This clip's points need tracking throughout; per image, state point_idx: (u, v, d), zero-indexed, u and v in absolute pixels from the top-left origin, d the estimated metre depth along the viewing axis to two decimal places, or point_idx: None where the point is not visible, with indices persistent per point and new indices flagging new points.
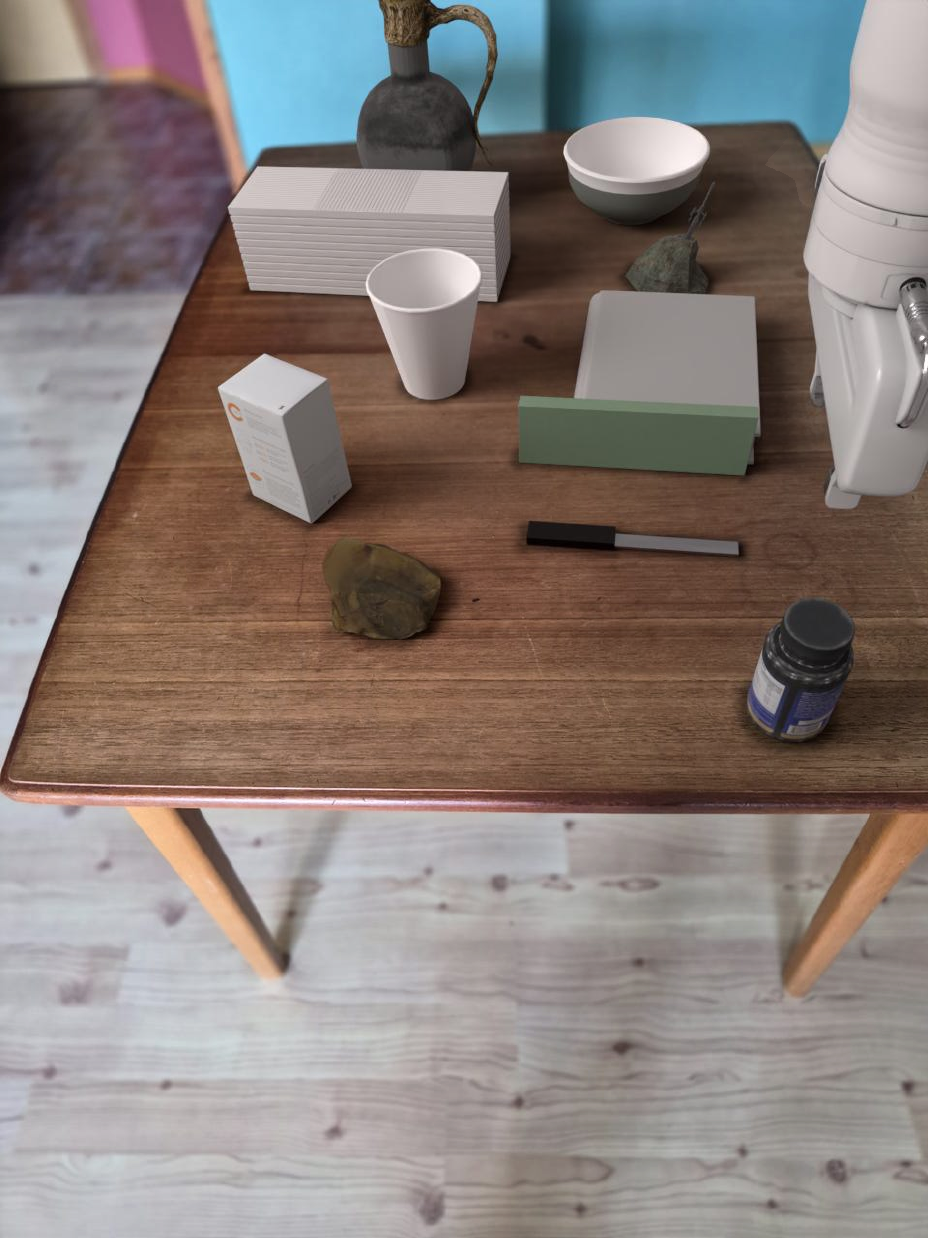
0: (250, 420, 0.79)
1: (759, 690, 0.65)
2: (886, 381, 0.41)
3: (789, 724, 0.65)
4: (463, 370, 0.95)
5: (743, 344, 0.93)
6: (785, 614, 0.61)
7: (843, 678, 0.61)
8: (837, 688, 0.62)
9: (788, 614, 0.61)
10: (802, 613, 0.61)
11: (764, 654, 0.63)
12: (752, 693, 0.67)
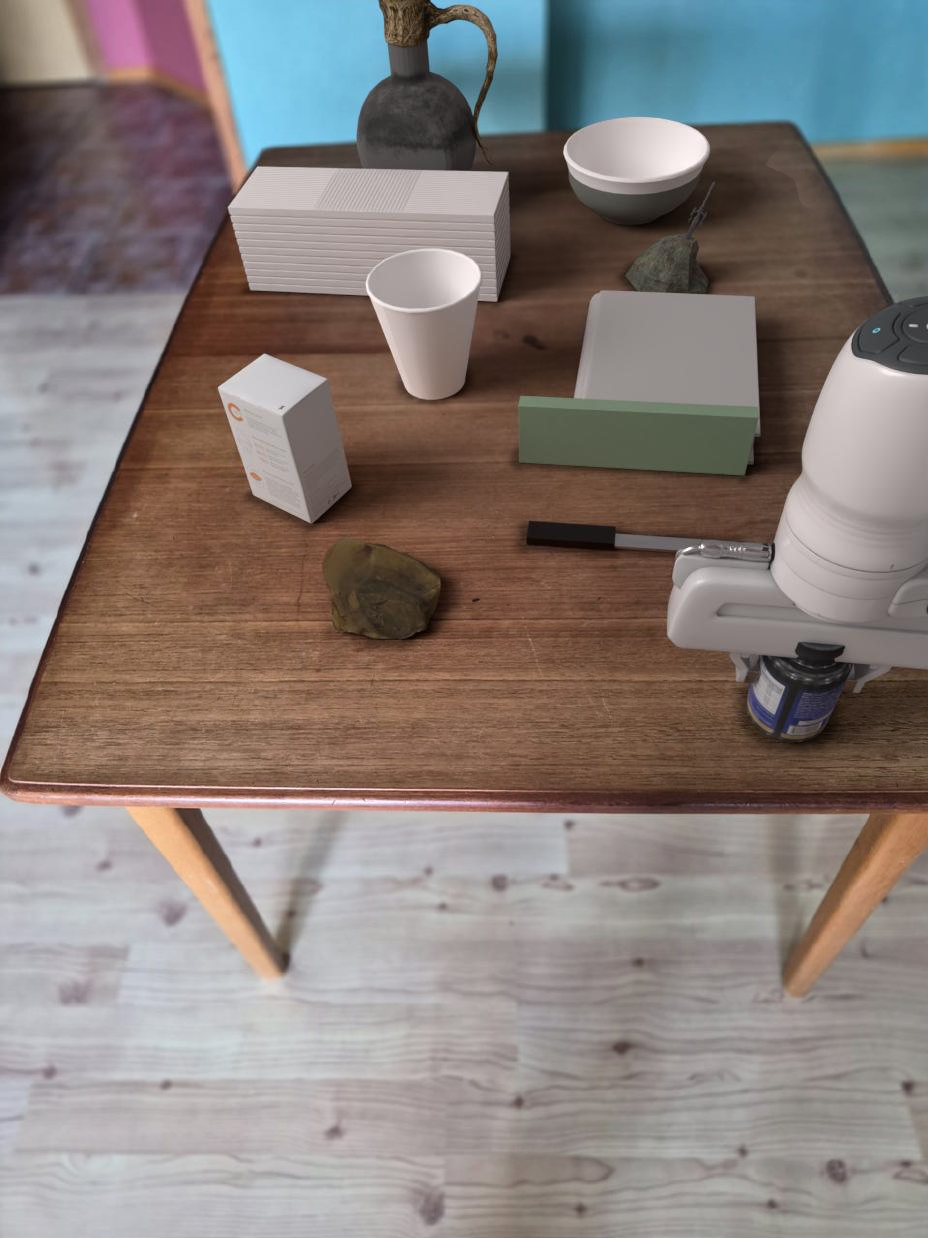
0: (250, 420, 0.79)
1: (759, 691, 0.65)
2: None
3: (789, 724, 0.65)
4: (463, 370, 0.95)
5: (743, 345, 0.93)
6: None
7: (843, 678, 0.61)
8: (837, 688, 0.62)
9: None
10: None
11: None
12: (752, 693, 0.67)
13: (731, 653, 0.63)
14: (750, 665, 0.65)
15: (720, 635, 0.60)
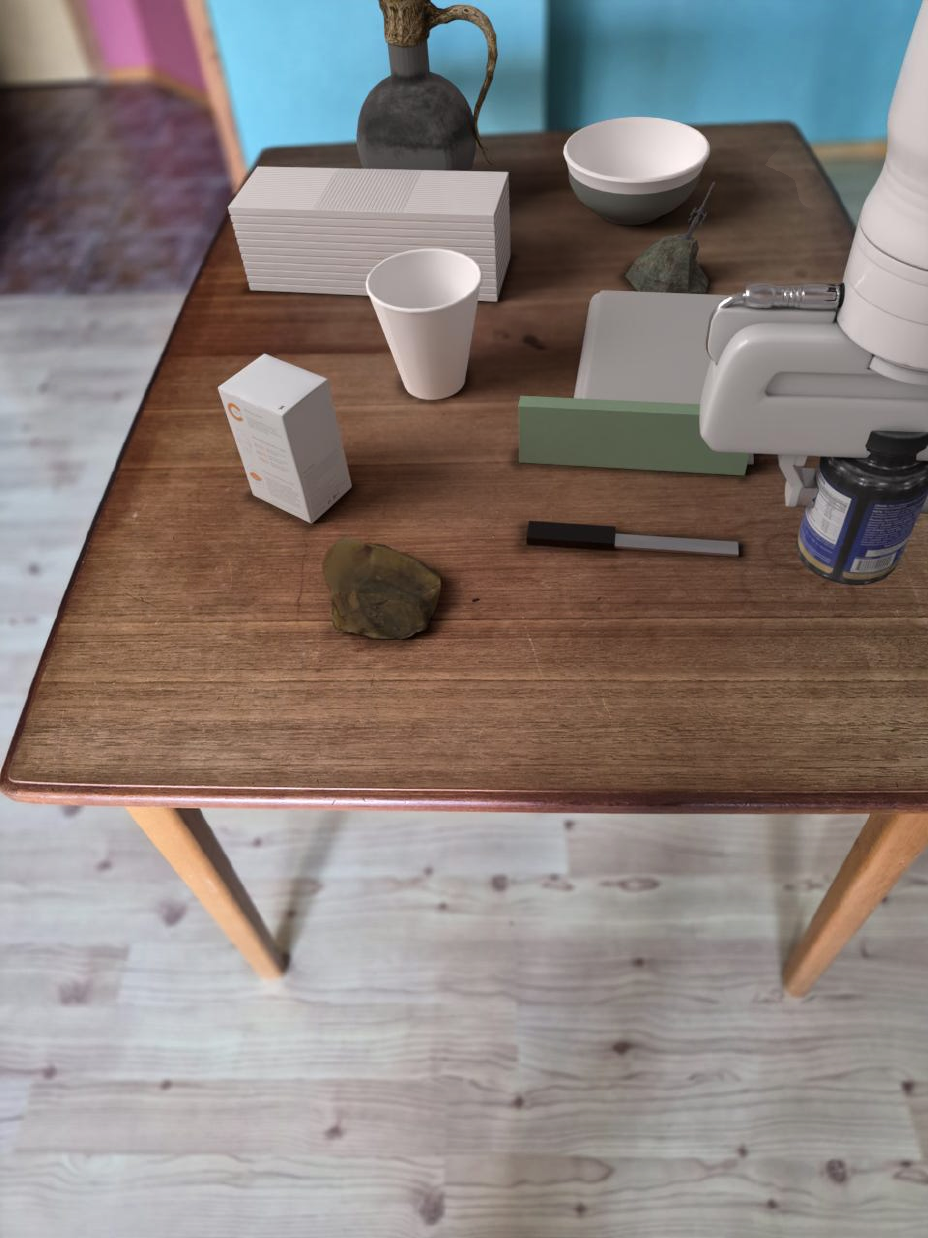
0: (250, 420, 0.79)
1: (815, 516, 0.52)
2: None
3: (854, 557, 0.52)
4: (463, 370, 0.95)
5: None
6: None
7: (927, 484, 0.48)
8: (918, 499, 0.49)
9: None
10: None
11: (823, 462, 0.50)
12: (805, 524, 0.54)
13: (782, 460, 0.49)
14: (804, 481, 0.51)
15: (769, 426, 0.47)
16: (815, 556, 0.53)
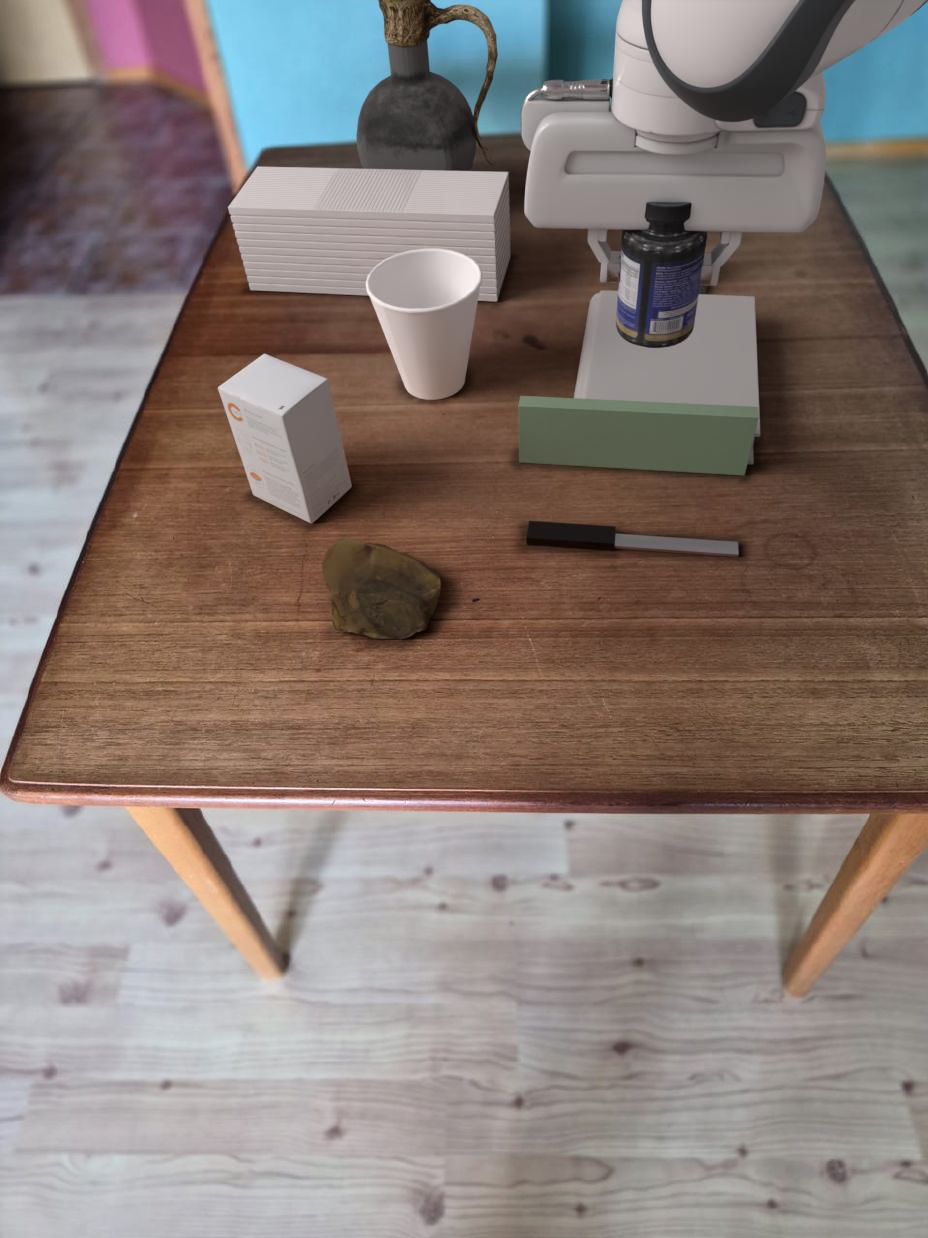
0: (250, 420, 0.79)
1: (621, 288, 0.67)
2: None
3: (649, 318, 0.66)
4: (463, 370, 0.95)
5: (743, 345, 0.93)
6: None
7: (694, 249, 0.63)
8: (690, 264, 0.63)
9: None
10: None
11: (622, 239, 0.65)
12: (617, 299, 0.68)
13: (588, 236, 0.64)
14: (611, 259, 0.66)
15: (572, 201, 0.62)
16: (625, 324, 0.68)
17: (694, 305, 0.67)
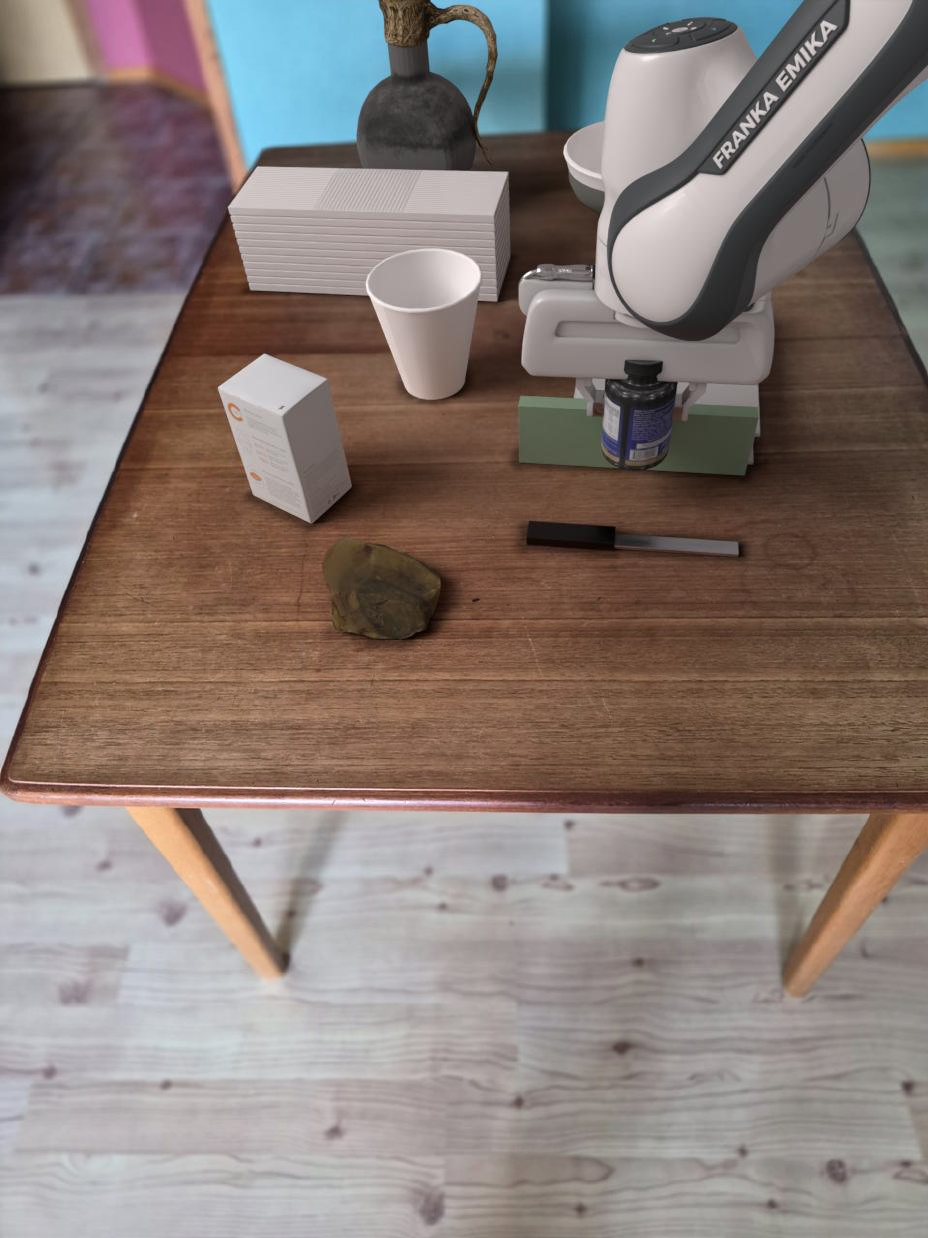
0: (250, 420, 0.79)
1: (605, 421, 0.78)
2: None
3: (629, 448, 0.77)
4: (463, 370, 0.95)
5: None
6: None
7: (666, 396, 0.74)
8: (663, 407, 0.74)
9: None
10: None
11: (605, 384, 0.76)
12: (602, 429, 0.79)
13: (576, 382, 0.75)
14: (596, 398, 0.77)
15: (562, 357, 0.73)
16: (608, 450, 0.79)
17: (668, 436, 0.78)
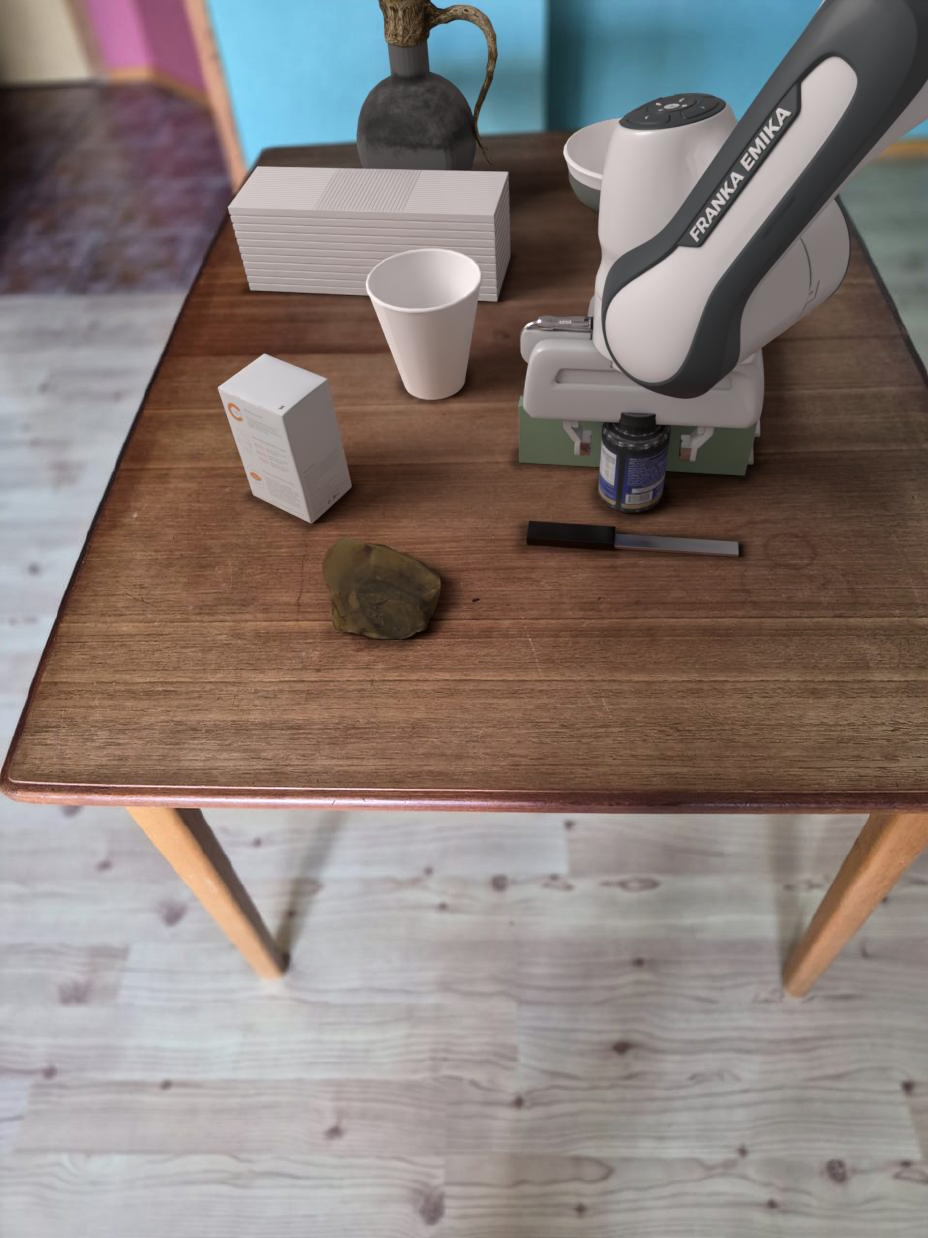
0: (250, 420, 0.79)
1: (602, 467, 0.82)
2: None
3: (625, 493, 0.81)
4: (463, 370, 0.95)
5: None
6: None
7: (660, 445, 0.78)
8: (657, 455, 0.78)
9: None
10: None
11: (602, 432, 0.80)
12: (599, 473, 0.83)
13: (564, 423, 0.79)
14: (583, 438, 0.81)
15: (562, 402, 0.76)
16: (605, 494, 0.83)
17: (661, 481, 0.82)
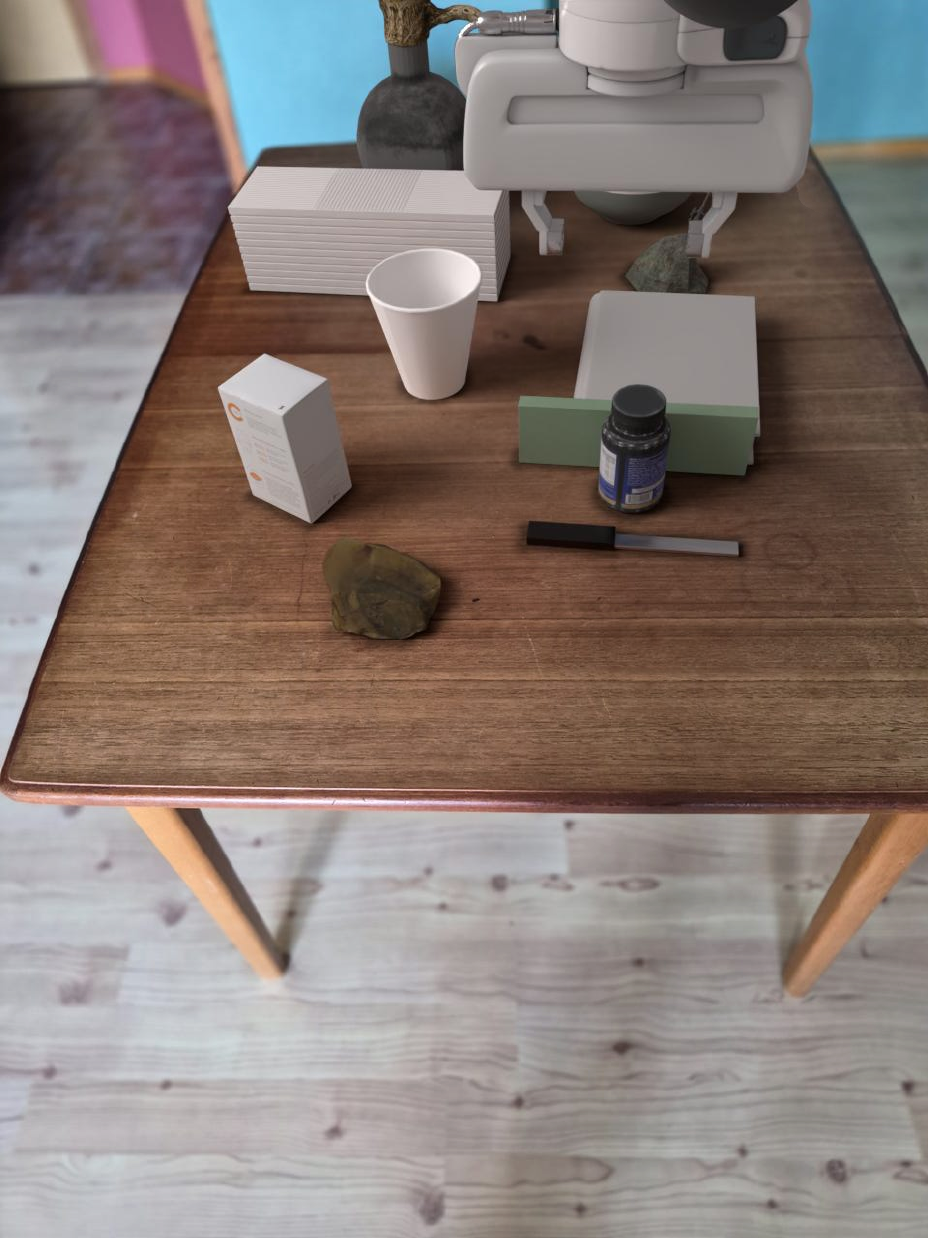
0: (250, 420, 0.79)
1: (602, 467, 0.82)
2: None
3: (625, 493, 0.81)
4: (463, 370, 0.95)
5: (743, 345, 0.93)
6: (614, 395, 0.77)
7: (660, 446, 0.78)
8: (657, 455, 0.78)
9: (616, 395, 0.77)
10: (627, 394, 0.77)
11: (602, 432, 0.80)
12: (599, 473, 0.83)
13: (523, 199, 0.56)
14: (551, 227, 0.57)
15: (518, 157, 0.53)
16: (605, 494, 0.83)
17: (661, 481, 0.82)
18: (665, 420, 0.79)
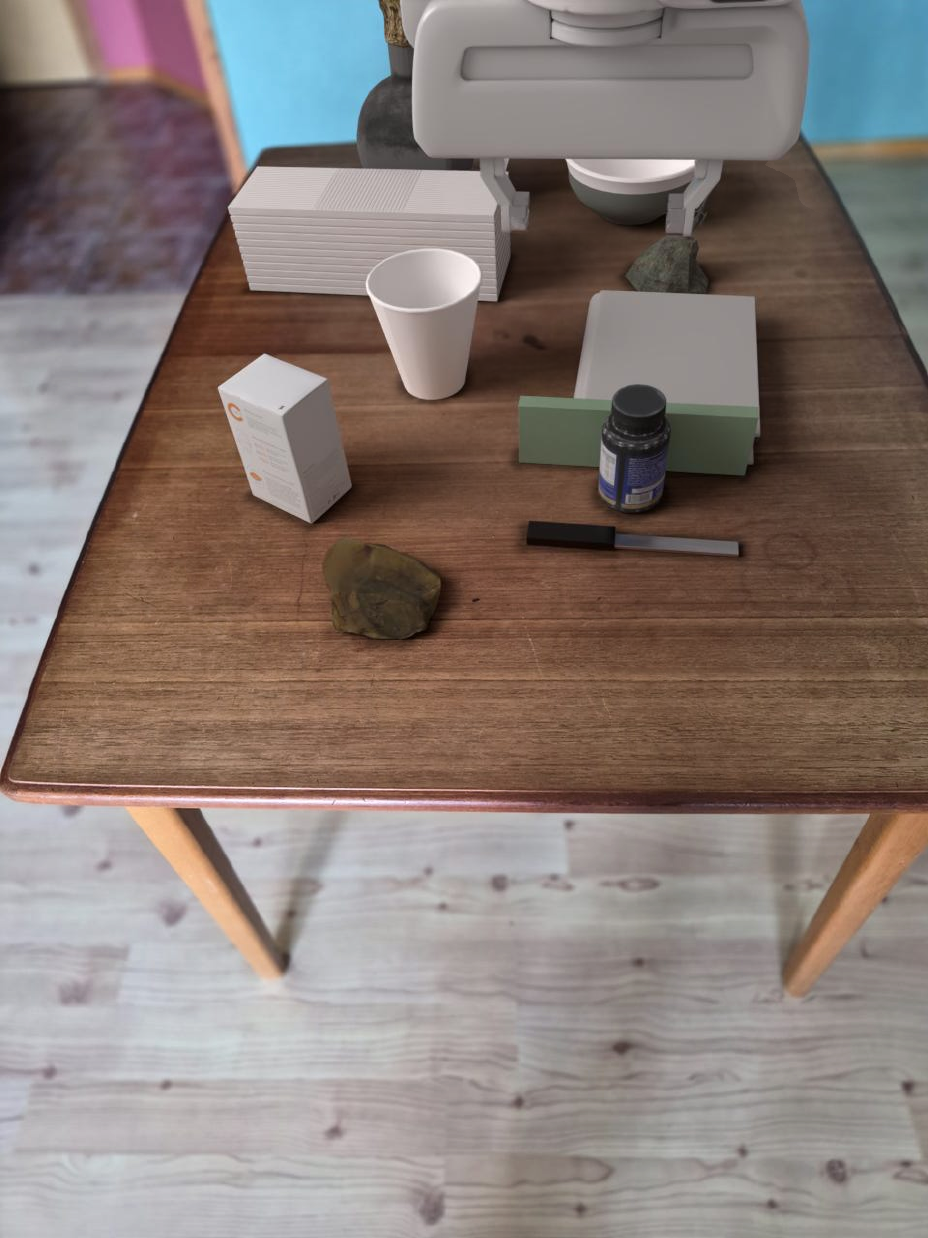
0: (250, 420, 0.79)
1: (602, 467, 0.82)
2: None
3: (625, 493, 0.81)
4: (463, 370, 0.95)
5: (743, 345, 0.93)
6: (614, 395, 0.77)
7: (660, 446, 0.78)
8: (657, 455, 0.78)
9: (616, 395, 0.77)
10: (627, 394, 0.77)
11: (602, 432, 0.80)
12: (599, 473, 0.83)
13: (481, 169, 0.49)
14: (514, 201, 0.51)
15: (474, 120, 0.46)
16: (605, 494, 0.83)
17: (661, 481, 0.82)
18: (665, 420, 0.79)
